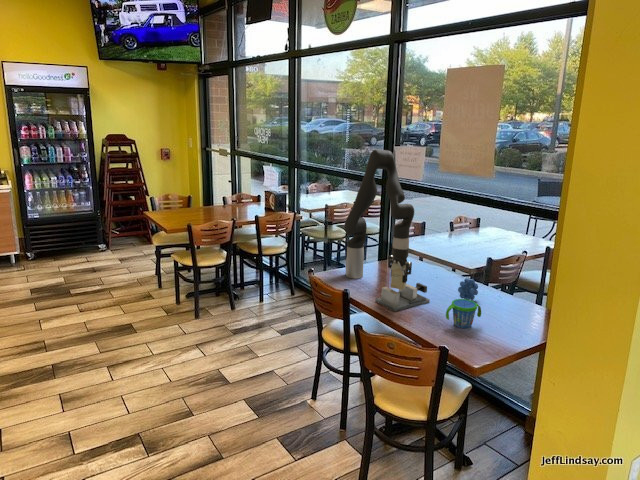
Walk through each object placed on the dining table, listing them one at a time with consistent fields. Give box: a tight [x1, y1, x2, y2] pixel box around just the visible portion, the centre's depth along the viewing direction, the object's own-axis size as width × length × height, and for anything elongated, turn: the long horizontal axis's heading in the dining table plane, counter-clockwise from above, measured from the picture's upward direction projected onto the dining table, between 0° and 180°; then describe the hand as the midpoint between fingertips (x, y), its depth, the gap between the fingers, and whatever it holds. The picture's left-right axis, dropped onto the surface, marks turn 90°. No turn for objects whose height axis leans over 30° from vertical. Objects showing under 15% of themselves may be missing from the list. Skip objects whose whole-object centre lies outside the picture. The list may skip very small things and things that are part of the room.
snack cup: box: [445, 298, 482, 329], centre depth 206 cm, size 16×10×10 cm
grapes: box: [457, 277, 479, 301], centre depth 232 cm, size 12×7×12 cm, turn 111°
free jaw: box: [398, 282, 428, 301], centre depth 235 cm, size 10×11×6 cm
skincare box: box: [390, 263, 407, 290], centre depth 227 cm, size 6×4×12 cm
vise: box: [375, 286, 431, 312], centre depth 231 cm, size 14×22×8 cm, turn 122°
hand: (398, 279), depth 227 cm, fingers closed on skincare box, 7 cm apart
